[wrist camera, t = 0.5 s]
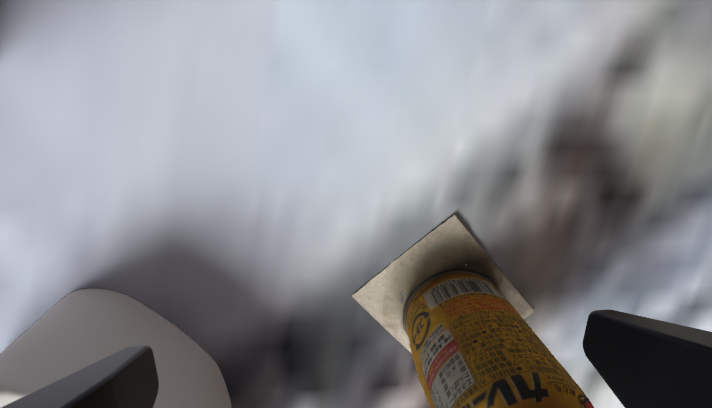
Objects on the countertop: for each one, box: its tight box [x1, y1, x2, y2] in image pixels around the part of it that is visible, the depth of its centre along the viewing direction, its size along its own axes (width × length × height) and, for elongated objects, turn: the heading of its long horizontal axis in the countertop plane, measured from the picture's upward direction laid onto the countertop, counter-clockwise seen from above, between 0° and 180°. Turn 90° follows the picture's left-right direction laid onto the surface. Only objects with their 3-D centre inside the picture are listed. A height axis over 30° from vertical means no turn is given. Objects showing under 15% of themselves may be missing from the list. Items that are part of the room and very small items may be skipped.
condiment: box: [352, 215, 594, 408], centre depth 18 cm, size 7×8×12 cm
